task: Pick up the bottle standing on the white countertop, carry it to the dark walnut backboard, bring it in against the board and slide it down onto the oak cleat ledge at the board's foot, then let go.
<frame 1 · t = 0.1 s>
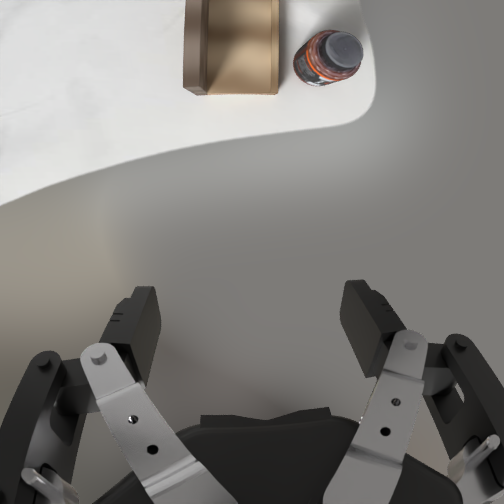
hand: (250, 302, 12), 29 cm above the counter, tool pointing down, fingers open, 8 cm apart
cleat board: (229, 34, 30), on the counter
supplement bottle: (314, 66, 33), on the counter
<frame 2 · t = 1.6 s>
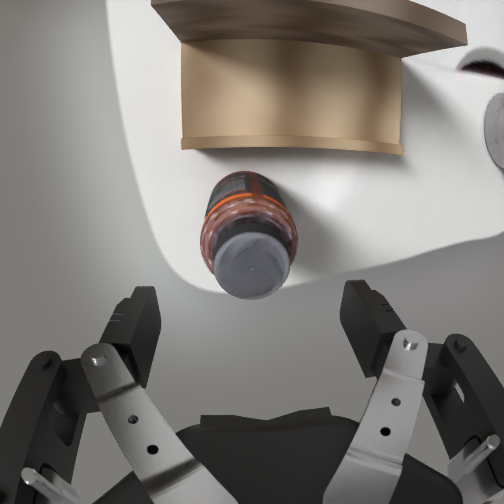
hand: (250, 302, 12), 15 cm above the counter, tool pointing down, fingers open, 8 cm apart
cleat board: (293, 75, 21), on the counter
supplement bottle: (244, 203, 26), on the counter
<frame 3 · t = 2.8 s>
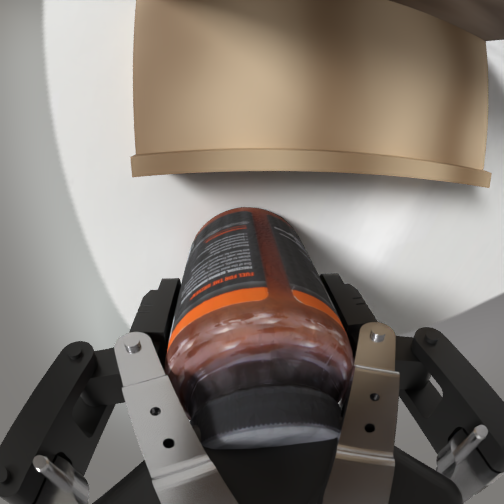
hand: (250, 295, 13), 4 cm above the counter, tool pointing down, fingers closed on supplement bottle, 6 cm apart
cleat board: (329, 48, 12), on the counter
supplement bottle: (246, 255, 16), on the counter, touching gripper
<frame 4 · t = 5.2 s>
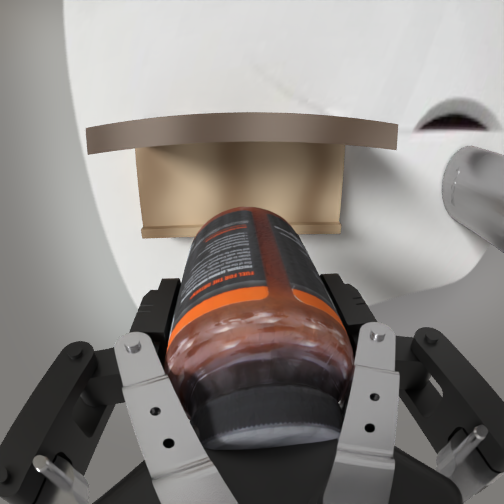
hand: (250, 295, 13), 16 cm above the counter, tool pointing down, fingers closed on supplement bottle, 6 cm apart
cleat board: (240, 159, 25), on the counter
supplement bottle: (246, 255, 16), point 12 cm above the counter, touching gripper
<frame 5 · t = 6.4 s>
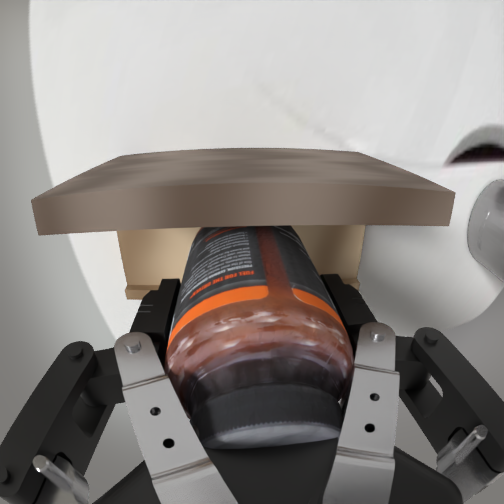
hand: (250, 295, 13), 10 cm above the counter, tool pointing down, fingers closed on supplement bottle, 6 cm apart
cleat board: (240, 204, 21), on the counter
supplement bottle: (246, 254, 16), point 6 cm above the counter, touching gripper
when the fingers open (7 cm above the counter, at t = 7.5 s): supplement bottle stays where it is, resting on cleat board.
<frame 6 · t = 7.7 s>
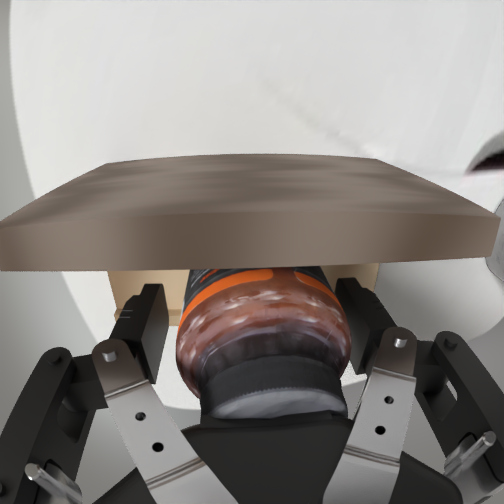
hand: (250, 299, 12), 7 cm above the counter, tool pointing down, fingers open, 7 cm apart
cleat board: (243, 217, 19), on the counter
supplement bottle: (249, 247, 17), point 2 cm above the counter, touching cleat board
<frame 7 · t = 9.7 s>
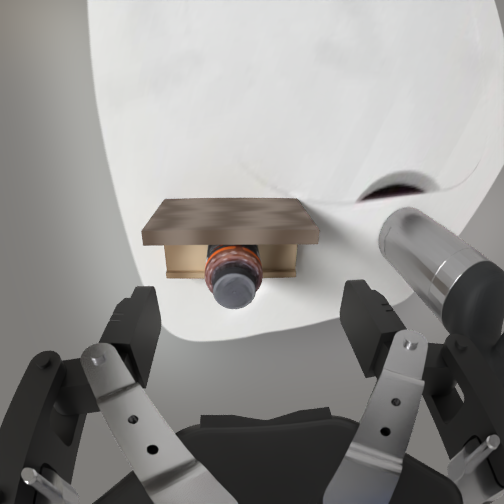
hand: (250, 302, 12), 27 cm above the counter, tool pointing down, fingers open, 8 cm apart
cleat board: (230, 227, 39), on the counter
supplement bottle: (232, 241, 38), point 2 cm above the counter, touching cleat board
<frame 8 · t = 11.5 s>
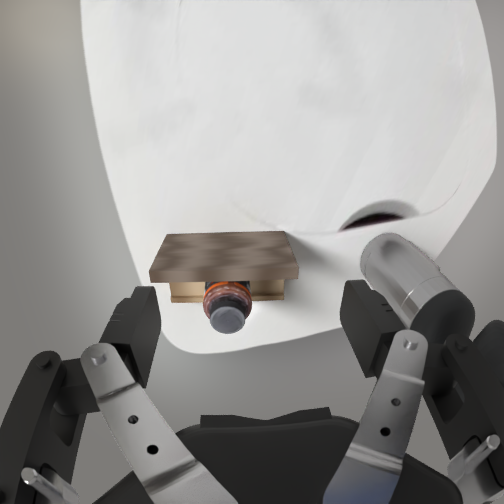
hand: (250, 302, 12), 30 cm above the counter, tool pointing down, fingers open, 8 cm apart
cleat board: (225, 257, 45), on the counter
supplement bottle: (227, 270, 43), point 2 cm above the counter, touching cleat board
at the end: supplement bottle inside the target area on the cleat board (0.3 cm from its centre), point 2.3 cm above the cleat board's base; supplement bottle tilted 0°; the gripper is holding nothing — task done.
